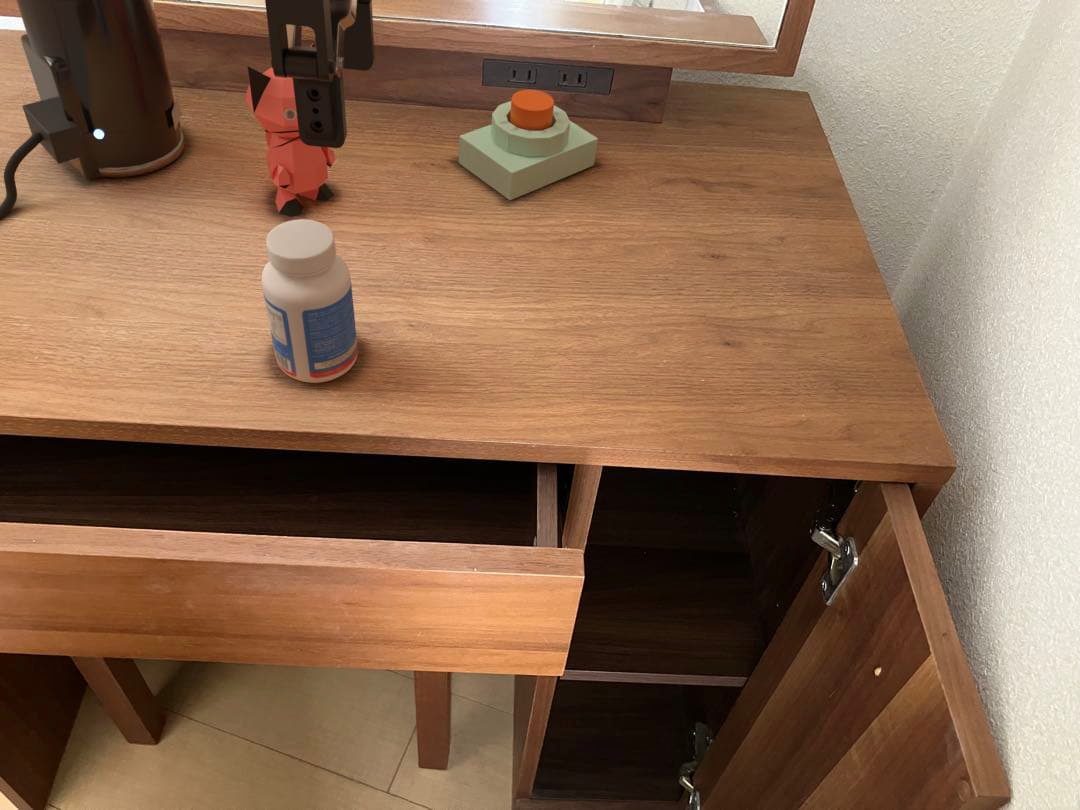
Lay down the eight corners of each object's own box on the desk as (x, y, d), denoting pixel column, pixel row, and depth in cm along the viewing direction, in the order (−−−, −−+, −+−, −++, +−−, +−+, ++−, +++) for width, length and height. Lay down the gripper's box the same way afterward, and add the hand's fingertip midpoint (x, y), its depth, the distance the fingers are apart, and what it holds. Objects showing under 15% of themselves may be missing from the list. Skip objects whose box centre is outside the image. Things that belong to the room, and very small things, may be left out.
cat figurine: (291, 232, 70) (272, 87, 61) (236, 195, 72) (210, 51, 64) (360, 197, 74) (351, 56, 65) (305, 163, 76) (289, 24, 68)
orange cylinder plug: (529, 137, 75) (531, 114, 73) (501, 118, 77) (502, 96, 75) (560, 125, 77) (563, 103, 75) (532, 107, 78) (534, 85, 77)
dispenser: (509, 200, 75) (513, 153, 72) (458, 163, 79) (459, 116, 76) (594, 165, 81) (601, 119, 77) (542, 131, 84) (547, 86, 81)
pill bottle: (366, 336, 62) (358, 218, 55) (346, 390, 59) (335, 271, 52) (288, 325, 62) (271, 206, 55) (264, 379, 59) (241, 258, 52)
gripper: (260, -312, 41) (298, 40, 52) (156, -253, 31) (232, 167, 42) (424, -295, 41) (427, 52, 53) (375, -230, 31) (391, 181, 43)
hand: (340, 102), depth 47 cm, fingers open, 8 cm apart
